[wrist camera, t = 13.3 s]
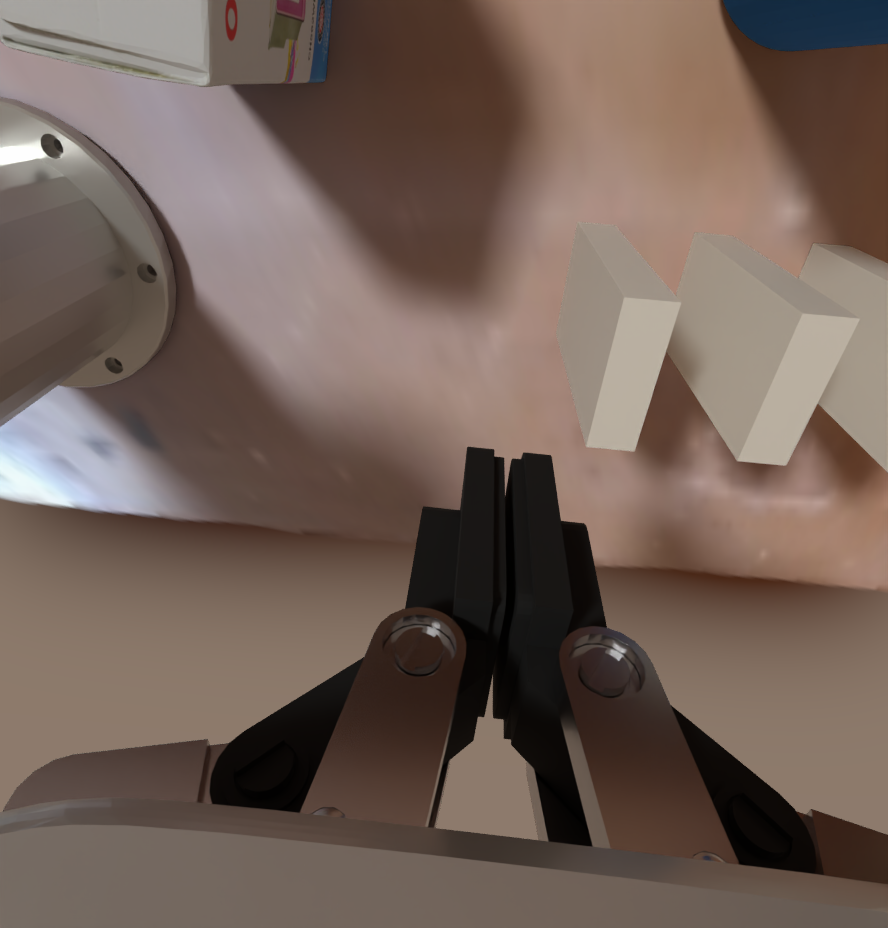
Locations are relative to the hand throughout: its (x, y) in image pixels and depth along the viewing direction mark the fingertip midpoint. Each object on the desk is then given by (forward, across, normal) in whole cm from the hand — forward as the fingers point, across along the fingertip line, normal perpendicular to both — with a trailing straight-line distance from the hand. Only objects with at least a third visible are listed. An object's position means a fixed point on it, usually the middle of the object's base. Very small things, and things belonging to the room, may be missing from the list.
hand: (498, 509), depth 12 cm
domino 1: (+17, -4, 0) cm, 17 cm away
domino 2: (+17, -9, 0) cm, 19 cm away
